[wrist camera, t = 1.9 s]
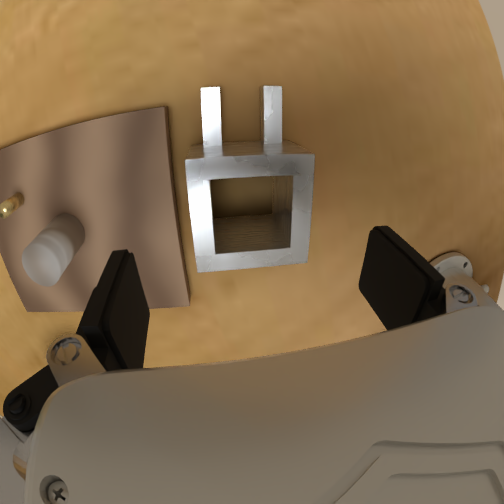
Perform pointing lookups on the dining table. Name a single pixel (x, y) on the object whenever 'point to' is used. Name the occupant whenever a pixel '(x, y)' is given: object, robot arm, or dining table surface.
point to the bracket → (250, 165)
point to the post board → (93, 211)
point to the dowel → (11, 205)
